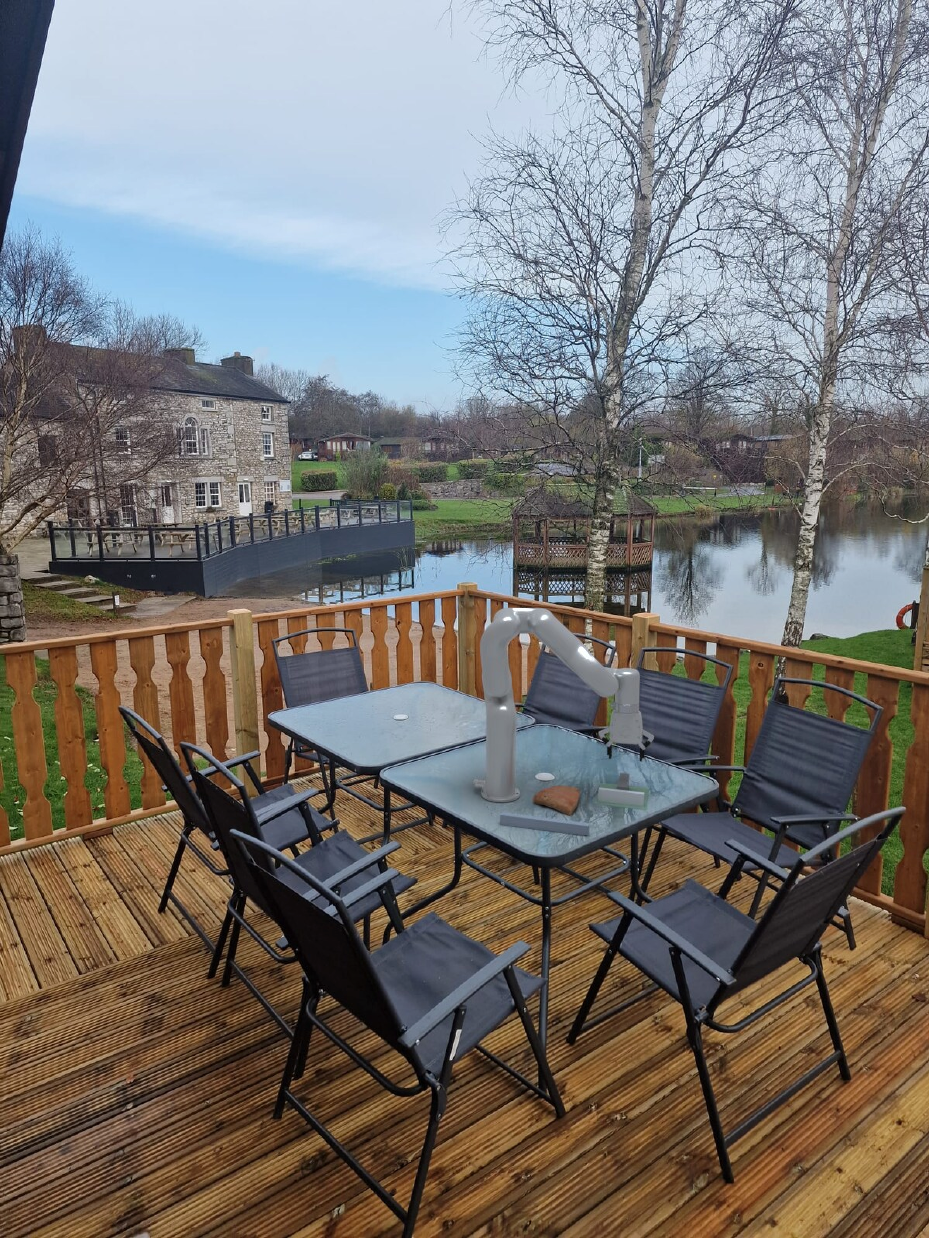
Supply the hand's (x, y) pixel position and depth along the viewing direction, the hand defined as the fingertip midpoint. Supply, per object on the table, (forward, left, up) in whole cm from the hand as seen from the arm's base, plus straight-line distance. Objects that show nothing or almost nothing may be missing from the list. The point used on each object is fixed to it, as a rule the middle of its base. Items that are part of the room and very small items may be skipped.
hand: (625, 758), depth 243 cm
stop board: (-20, -31, -13) cm, 39 cm away
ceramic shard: (-17, -11, -13) cm, 25 cm away
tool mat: (0, -1, -13) cm, 13 cm away
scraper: (0, 0, -12) cm, 12 cm away
